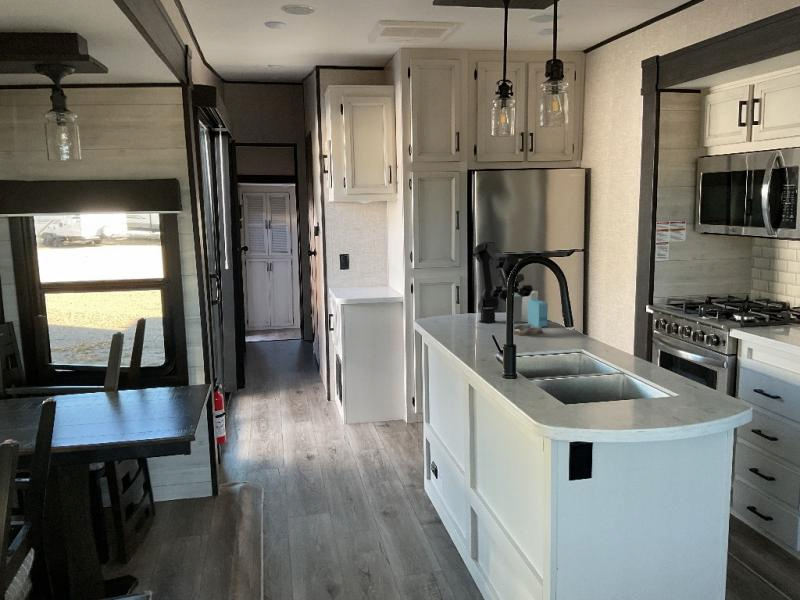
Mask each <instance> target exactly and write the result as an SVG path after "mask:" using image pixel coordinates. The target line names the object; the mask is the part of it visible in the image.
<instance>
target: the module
mask: <svg viewBox="0 0 800 600" xmlns="http://www.w3.org/2000/svg"><path fill="white" fill-rule="evenodd" d="M513 294H514V321H513V322H522V321H521V315H522V297H521V296H520V295H517V294H516V293H513Z"/></svg>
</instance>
